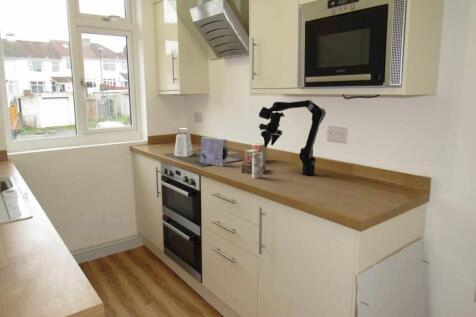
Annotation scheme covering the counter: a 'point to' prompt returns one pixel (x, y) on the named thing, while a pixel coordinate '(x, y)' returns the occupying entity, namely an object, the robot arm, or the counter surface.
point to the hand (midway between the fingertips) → (268, 146)
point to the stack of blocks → (256, 151)
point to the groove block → (248, 167)
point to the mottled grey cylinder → (257, 165)
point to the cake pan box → (214, 151)
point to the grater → (183, 144)
